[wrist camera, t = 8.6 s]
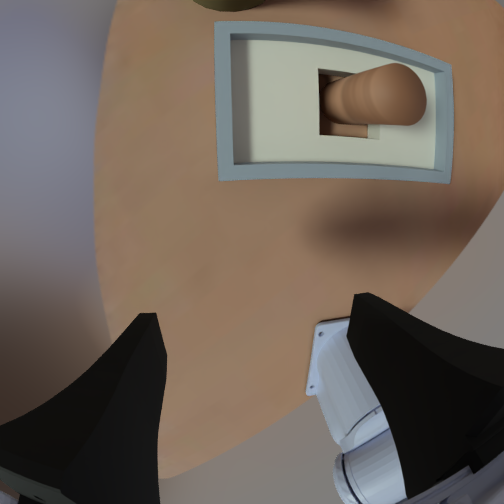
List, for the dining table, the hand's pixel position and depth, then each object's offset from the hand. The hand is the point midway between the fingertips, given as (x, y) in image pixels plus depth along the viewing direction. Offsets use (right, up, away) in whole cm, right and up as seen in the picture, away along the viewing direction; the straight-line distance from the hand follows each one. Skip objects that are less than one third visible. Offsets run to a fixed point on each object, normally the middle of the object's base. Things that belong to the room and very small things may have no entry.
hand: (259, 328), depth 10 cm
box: (+6, +12, +6) cm, 15 cm away
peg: (+6, +12, +6) cm, 15 cm away
